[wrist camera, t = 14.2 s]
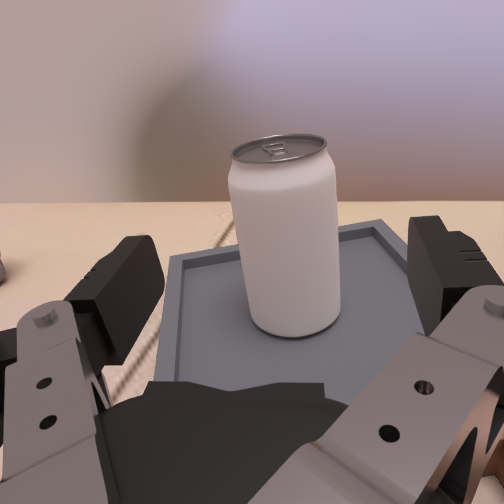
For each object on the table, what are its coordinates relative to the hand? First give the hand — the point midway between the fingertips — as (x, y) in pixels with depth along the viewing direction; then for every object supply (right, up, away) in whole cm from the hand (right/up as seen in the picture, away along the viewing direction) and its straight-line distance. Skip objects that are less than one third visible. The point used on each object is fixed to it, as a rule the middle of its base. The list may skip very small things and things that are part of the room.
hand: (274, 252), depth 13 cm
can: (+2, -4, +16) cm, 17 cm away
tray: (+3, -5, +17) cm, 18 cm away
